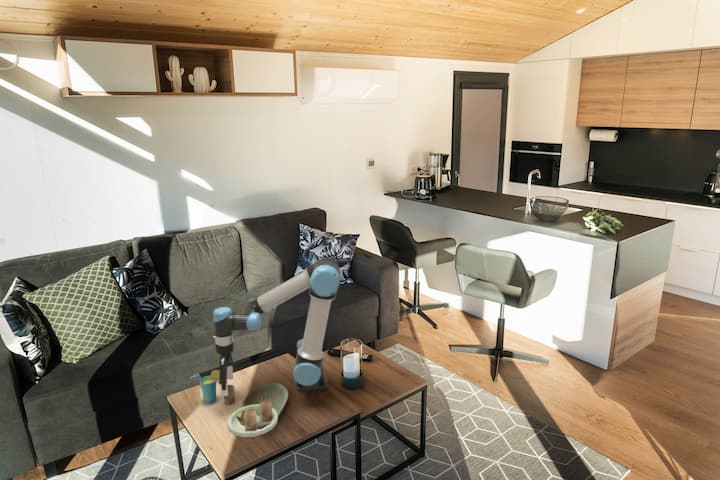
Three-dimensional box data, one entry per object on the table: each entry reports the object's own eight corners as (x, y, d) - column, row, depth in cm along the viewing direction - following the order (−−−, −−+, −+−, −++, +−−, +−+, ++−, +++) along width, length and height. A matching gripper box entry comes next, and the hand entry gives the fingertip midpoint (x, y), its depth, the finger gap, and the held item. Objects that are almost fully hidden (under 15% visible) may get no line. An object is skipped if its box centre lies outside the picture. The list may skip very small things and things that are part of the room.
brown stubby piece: (236, 400, 221) (234, 384, 219) (234, 406, 217) (233, 390, 215) (225, 401, 221) (224, 385, 219) (223, 406, 216) (222, 390, 214)
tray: (279, 407, 215) (278, 402, 214) (275, 436, 196) (275, 431, 195) (232, 411, 213) (232, 406, 213) (224, 440, 194) (224, 435, 193)
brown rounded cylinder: (273, 417, 207) (272, 400, 205) (272, 423, 203) (271, 406, 201) (262, 417, 207) (260, 400, 205) (261, 424, 202) (259, 407, 200)
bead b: (257, 426, 201) (256, 409, 199) (256, 433, 197) (255, 415, 195) (246, 427, 201) (244, 410, 199) (244, 434, 196) (243, 416, 194)
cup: (196, 411, 214) (192, 380, 210) (190, 403, 220) (186, 373, 216) (226, 399, 222) (223, 369, 218) (219, 392, 228) (217, 362, 224)
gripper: (220, 330, 223) (223, 373, 228) (209, 357, 199) (213, 403, 204) (237, 330, 224) (240, 372, 229) (228, 356, 200) (231, 402, 205)
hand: (227, 387), depth 217 cm, fingers open, 13 cm apart
